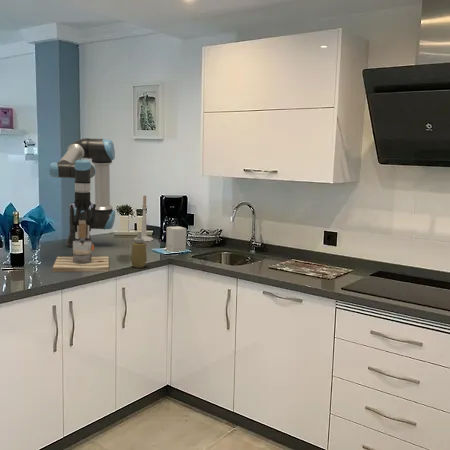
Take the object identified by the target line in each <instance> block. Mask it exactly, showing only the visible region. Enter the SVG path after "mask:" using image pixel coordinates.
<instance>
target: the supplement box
mask: <svg viewBox="0 0 450 450" xmlns="http://www.w3.org/2000/svg"><path fill="white" fill-rule="evenodd" d="M165 235H166V241H165V242H166V243H165V251H166V250H169V251H172V252H179V251H186V252H187V228H186V227H183V226H166V234H165Z"/></svg>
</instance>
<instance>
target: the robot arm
mask: <svg viewBox="0 0 450 450" xmlns="http://www.w3.org/2000/svg"><path fill="white" fill-rule="evenodd" d="M115 153H116V150H115V146H114V142H113V141H112V140H111V139H107V138H89V137H88V138H87V137H85V138H80V139H77V140H75V141H73V142H72V143H70V144H69V146H68V147H67V149H66V153H65V154H64V155H63V156H62V157H61V158H60V160H59V161H58V162H56V161H54V162H51V163H50V164H49V175H50V177H52V178H63V179H66V178H67V179H74V191H75V192H74V202H73V203H72V204H70V203H69V204H68V209H69V216H68V217H69V232H68V236H67V240H66V243H65V244H66V246H67V247H69V248H73V241H76V240H80V238H79V220H85V221H86V238H85V240H88V241H91V242H92V243H93V238H92V237H91V236H92V235H91V233H90V232H91V231H92V230H104V231H105V230H111V229H113V227H114V224H115V219H116V210H113V206H112V205H111V204H110V203H111V195H110V194H111V191H110V189H111V186H110V185H111V184H110V182H111V181H110V166H111V164H113V161H114V160H115V158H116V154H115ZM83 159H87V160H83ZM89 159H90V160H89ZM92 178H94V203H92V202H91V179H92Z"/></svg>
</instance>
